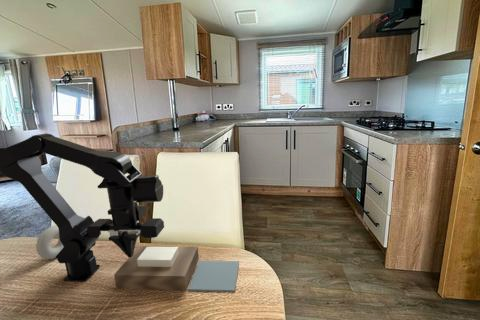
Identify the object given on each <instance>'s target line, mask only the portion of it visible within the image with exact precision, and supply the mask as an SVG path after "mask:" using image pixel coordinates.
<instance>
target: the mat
mask: <svg viewBox="0 0 480 320" xmlns="http://www.w3.org/2000/svg"><path fill="white" fill-rule="evenodd" d="M239 265H240V261H239V260H198V262H197V265H196V267H195V270H194V272H193V275H192V277H191V280H190V282H189V285H188V287H187V290H188V291H192V292H193V291H194V292H230V293H231V292H232V293H233V292H235V291H236V286H237V279H238V271H239Z"/></svg>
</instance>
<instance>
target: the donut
mask: <svg viewBox="0 0 480 320" xmlns="http://www.w3.org/2000/svg"><path fill="white" fill-rule="evenodd" d="M55 237H57V238H58V239H57V240H58V241H57V243H56V244H55V245H54V246H51V242H52V240H53V239H55ZM63 247H64V246H63V244H62V243H61V241H60V237H59V228H58V227H57V225H56V224H55V225H51V226H49V227H48V228H46V229H44V230H43V232H41V234H39V236H38V238H37V240H36V244H35V248H36V249H35V250H36V252H37V254H38V256H40V257H41V258H42V259H46V260H50V259H52V260H53V259H57V258H56V255H57V254H58V253H59V252H60V251H61V250H62V249H63Z"/></svg>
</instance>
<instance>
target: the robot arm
mask: <svg viewBox="0 0 480 320" xmlns="http://www.w3.org/2000/svg"><path fill="white" fill-rule="evenodd" d="M44 154H47V155H49V156H53V157H55V158H59V159H62V160H65V161H68V162H70V163H74V164H77V165H80V166H83V167H86V168H87V169H90V171H92V173H94V175H97V176H98V177H101V178H102V181H101V182H100V183H99V184H98V185H97V189H107V190H106V191H107V196H108V197H107V198H108V202H109V209H108V210H107V215H111V218H97V219H96V220H95V221H94V220H93V218H92V217H91V216H90V215H87V216H86V217H83V216H80V215H78V214H77V213H76V212H75V210H74V209H73V208H72V207H71V206H70V204H69V203H68V202H67V201H66V199H64V197H63V196H62V195H61V193H60V192H59V191H58V189H56V187H55V186H54V185H53V184H52V182H51V181H50V179H48V178H47V176H46V175H45V173H44V172H43V171H42V162H41V158H40V156H42V155H44ZM0 174H2V175H4V176H5V178H6V177H7V178H9V179H11V180H12V181H16V182H18V183H20V184H21V186H23V188H24V189H25V190H26V191H27V192H28V194H29V195H30V196H31V197H32V198H33V200H34V201H35V202H36V203H37V204H38V205H39V207H40V208H41V209H42V210H43V211H44V213H46V215H47V217H49V218H50V219H51V221H52V222H53V224H55V225H57V227H58V228H59V237H60V241H61V243H62V244H63V246H64V247H63V249H62V250H61V251H60V252H59V253H58V254H57V255H56V258H55V259H56V260H57V261H58V263H59V264H64V265H65V270H66V274H67V275H66V276H65V277H63V278H62V279H63V281H64V282H87V281H88V279H90V277H91V276H93V274H95V272H96V271H98V269H99V268H100V267H101V266H100V264H97V259H96V256H95V255H94V254H95V253H94V250H92V248H93V247H94V246H96V243H97V241H98V240H99V238H100V236H101V234H102V232H108V233H109V237H108V241H112V242H113V243H114V244H115V245H116V246H117V247H119V249H120V250H121V251H122V252H123V253H124V254H125V255H126V257H127V258H129V257H132V256H133V253H134V251H135V249H136V248H135V247H136V243H137V240H138V238H139V236H141V237H142V238H145V239H152V238H153V239H155V238H157V237H158V236H159V235H160V233H161V232H162V231H163V229H165V222H164V220H163V219H162V218H160V217H159V218H155V217H154V218H152V217H151V218H148V219H147V220H146V221H145V222H142V221H141V220H142V217H147V205H145V204H144V205H138V203H157V202H158V203H159V202H162V200H163V198H164V184H162V183H163V182H162V180H161V179H160V178H159V177H160V176H159V175H158V174H153V175H143V173H142V172H141V171H140V170H139V169H138V168H137V167H136V166H135V165H134V164H133V161H132V160H131V158H130V156H129V155H128V154H126V153H123V152H119V151H118V152H117V151H111V150H110V151H109V150H108V151H107V150H97V149H94V148H91V147H88V146H84V145H81V144H78V143H76V142H73V141H69V140H66V139H63V138H61V137H57V136H55V135H53V134H52V133H40V134H35V135H31V136H30V137H28V138H26V139H24V140H22V141H20V142H17V143H15V144H12V145H10V146H8V145H7V146H3V147H0ZM126 175H127V176H126ZM140 221H141V222H140Z"/></svg>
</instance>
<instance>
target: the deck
mask: <svg viewBox="0 0 480 320" xmlns="http://www.w3.org/2000/svg"><path fill="white" fill-rule="evenodd" d="M146 247H178V249H179V254H178V256H177V258H176V260H175V262H174V263H173V265H172V267H142V266H138V263H137V259H138V258H139V256H140V255H141V254H142V252H143V251H144V250H145V249H146ZM199 255H200V254H199V246H184V245H183V246H177V245H176V246H171V245H170V246H168V245H167V246H164V245H163V246H162V245H161V246H160V245H159V246H158V245H138V246H137V247H136V248H135V249H134V253H133V256H132V257H127V259H126V260H125V261H124V262H123V264H122V265H121V266H120V267H119V269H117V270H116V272H115V273H114V274H113V278H114V283H115V284H114V285H115V289H116V290H146V291H147V290H148V291H150V290H151V291H152V290H153V291H187V290H188V288H189V286H190V283H191V280H192V278H193V275H194V273H195V270H196V268H197V265H198V262H199V261H200V260H199V259H200V257H199Z"/></svg>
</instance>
